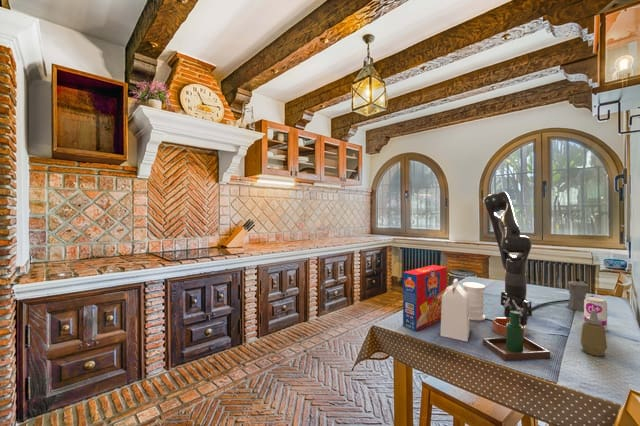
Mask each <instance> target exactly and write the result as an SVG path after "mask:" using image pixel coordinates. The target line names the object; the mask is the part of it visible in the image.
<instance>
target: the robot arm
mask: <svg viewBox="0 0 640 426" xmlns="http://www.w3.org/2000/svg"><path fill="white" fill-rule="evenodd" d="M483 205H484V207H485V210H486V212H487V215H488V218H489V221H490V223H491V227H492V231H493V235H494V237H495V241H496V243H497V246H498V249H499V254H500V258H501V263H502V267H503V269H504V271H505V275H504V291H501V292H500V305H501V306H503V309H504V318H510V311H517V312H519V313H520V325H525V326H527V324H528V317H532V316H533V311H532V310H534V309H536V308H538V307H541V306H545V305H549V304H555V303H556V304H557V303H563V302H569V299H561V300H560V299H559V300H553V301H548V302H547V301H546V302H544V303H543V302H542V303H540V304H537V305H534V306H533V307H532V301H529V300H528V299H527V281H528V280H527V277H528V276H527V275H528V258H529V255H530V252H531V250H532V245H533V243H532V240H531V239H530V237H528V236H526V235H521V229H520V227H519V225H518V223H517V219H516V217H515V212H514V207H513V205H512V201H511V199H510V196H509V194H508V193H507V192H506V191H500V192H495V193H491V194H488V195H485V196H484V197H483ZM502 211H503V213H502V214H501V215H500V216H499V215H498V214H497V213H498V212H502ZM511 253H513V254H514V253H515V254H517V255H512V254H511ZM586 297H587V296H585V298H586ZM588 297H595V296H594V295H590V296H588Z"/></svg>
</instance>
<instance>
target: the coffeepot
mask: <svg viewBox="0 0 640 426" xmlns="http://www.w3.org/2000/svg"><path fill="white" fill-rule="evenodd" d="M567 286H568V291H569V299H568V300H569V301H568V302H567V308H568V309H570V310H573V311H576V312H577V311H578V312H584V300H585V297H587V291H588V287H589V284H588V283H587V281H586V280H583V281H580V278H575V281H574V280H573V281H567Z"/></svg>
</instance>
